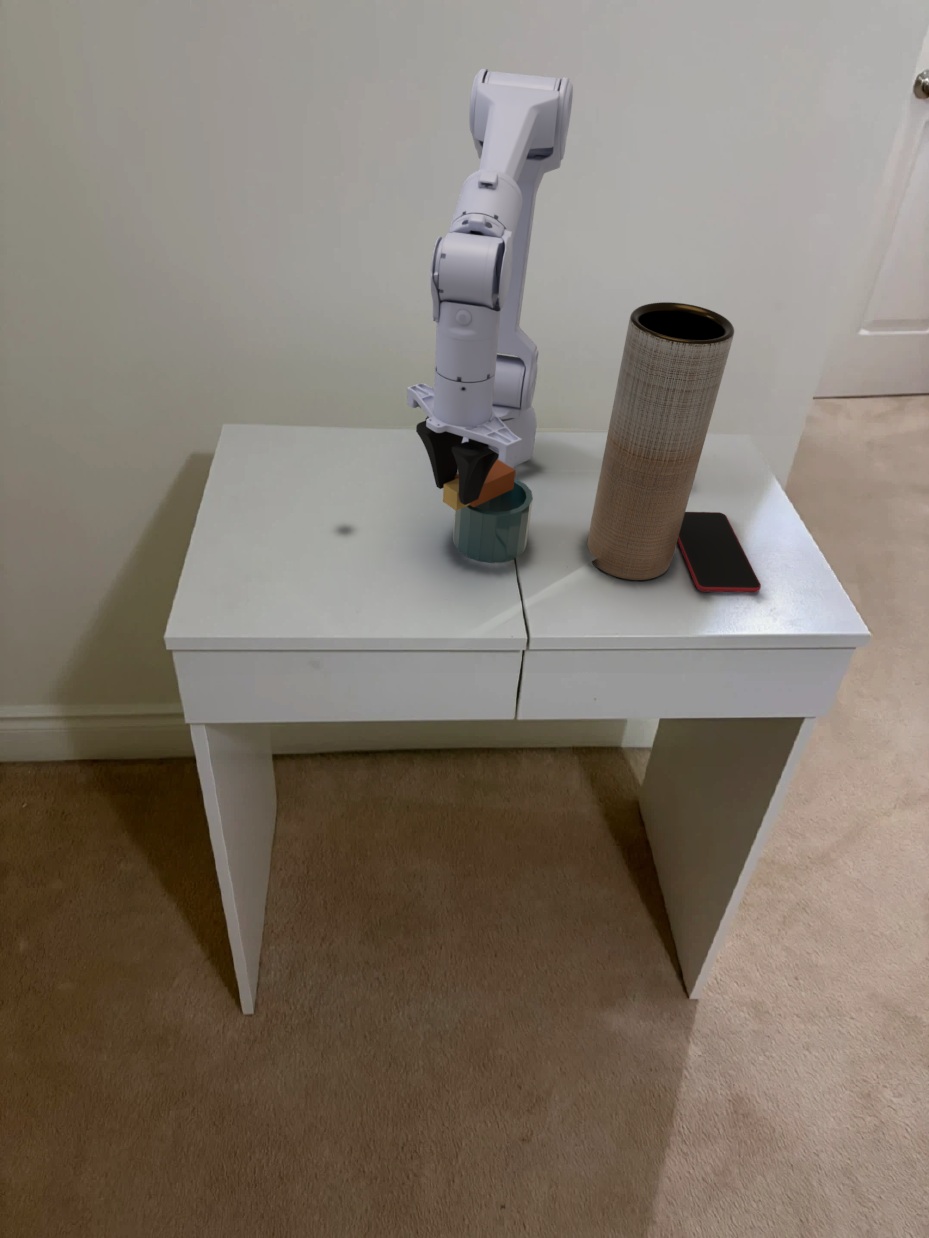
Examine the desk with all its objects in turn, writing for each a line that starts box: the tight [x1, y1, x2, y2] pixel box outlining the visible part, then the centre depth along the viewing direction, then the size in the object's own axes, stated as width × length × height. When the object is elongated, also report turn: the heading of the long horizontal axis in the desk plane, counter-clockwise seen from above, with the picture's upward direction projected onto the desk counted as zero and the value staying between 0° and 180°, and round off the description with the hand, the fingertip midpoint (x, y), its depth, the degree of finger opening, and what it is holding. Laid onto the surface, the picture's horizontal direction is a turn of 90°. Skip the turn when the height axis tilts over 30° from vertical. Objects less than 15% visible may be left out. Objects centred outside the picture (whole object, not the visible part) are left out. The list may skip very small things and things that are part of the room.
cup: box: [452, 477, 534, 564], centre depth 96 cm, size 8×8×8 cm
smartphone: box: [677, 511, 762, 593], centre depth 99 cm, size 7×1×15 cm
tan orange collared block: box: [442, 459, 516, 511], centre depth 90 cm, size 8×3×2 cm, turn 133°
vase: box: [586, 301, 735, 581], centre depth 90 cm, size 10×10×28 cm
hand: (457, 492), depth 88 cm, fingers closed on tan orange collared block, 3 cm apart
